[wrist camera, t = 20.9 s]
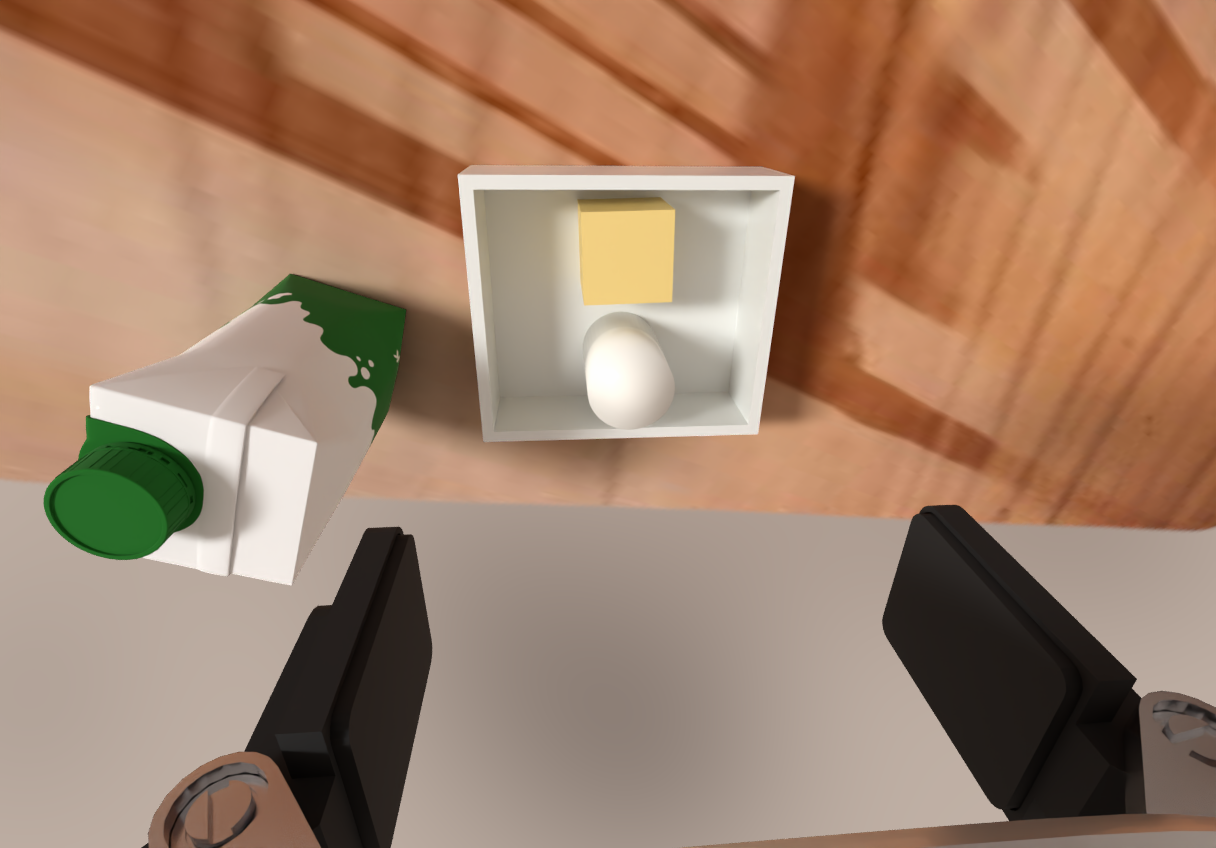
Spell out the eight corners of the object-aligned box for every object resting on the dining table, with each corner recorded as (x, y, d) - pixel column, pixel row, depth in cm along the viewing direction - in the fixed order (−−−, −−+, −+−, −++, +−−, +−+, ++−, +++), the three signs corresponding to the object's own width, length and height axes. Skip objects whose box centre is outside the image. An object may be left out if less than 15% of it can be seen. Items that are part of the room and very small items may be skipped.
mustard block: (660, 197, 37) (675, 209, 32) (658, 279, 39) (672, 302, 34) (577, 199, 36) (580, 212, 32) (580, 282, 39) (584, 305, 34)
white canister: (658, 311, 40) (677, 349, 34) (654, 381, 42) (671, 428, 36) (582, 311, 39) (587, 350, 33) (582, 382, 42) (587, 430, 36)
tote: (762, 166, 37) (794, 176, 32) (734, 397, 44) (757, 434, 39) (470, 165, 35) (457, 174, 30) (491, 403, 43) (483, 442, 38)
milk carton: (276, 254, 37) (23, 390, 19) (426, 301, 39) (321, 463, 21) (260, 380, 40) (35, 592, 23) (398, 417, 43) (289, 638, 25)
